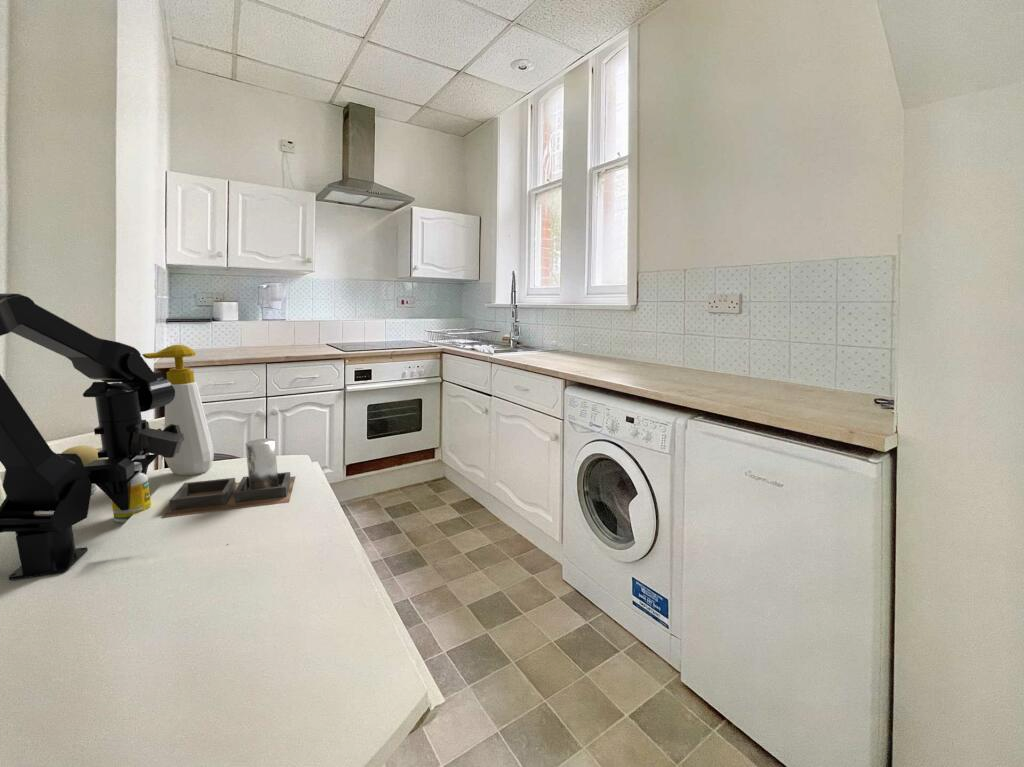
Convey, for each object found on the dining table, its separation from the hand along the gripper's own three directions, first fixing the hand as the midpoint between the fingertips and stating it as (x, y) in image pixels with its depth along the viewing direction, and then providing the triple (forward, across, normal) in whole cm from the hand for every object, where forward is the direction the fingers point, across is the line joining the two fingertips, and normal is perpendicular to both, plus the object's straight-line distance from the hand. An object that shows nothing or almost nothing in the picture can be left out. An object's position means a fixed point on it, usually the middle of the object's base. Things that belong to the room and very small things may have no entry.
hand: (131, 503), depth 84 cm
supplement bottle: (+3, 0, 0) cm, 3 cm away
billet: (+1, +1, -21) cm, 21 cm away
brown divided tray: (+2, +1, -16) cm, 16 cm away
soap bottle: (+3, +20, -3) cm, 20 cm away
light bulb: (+3, +15, +13) cm, 20 cm away
